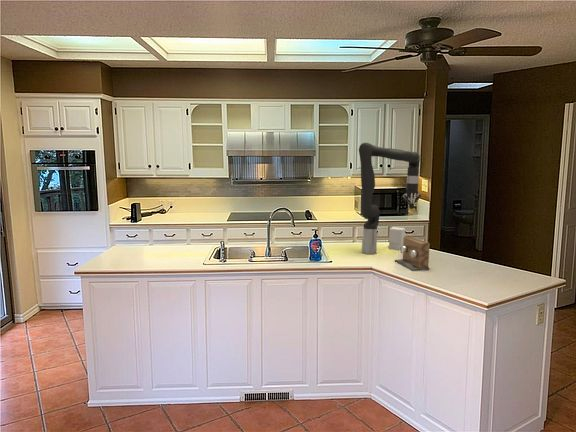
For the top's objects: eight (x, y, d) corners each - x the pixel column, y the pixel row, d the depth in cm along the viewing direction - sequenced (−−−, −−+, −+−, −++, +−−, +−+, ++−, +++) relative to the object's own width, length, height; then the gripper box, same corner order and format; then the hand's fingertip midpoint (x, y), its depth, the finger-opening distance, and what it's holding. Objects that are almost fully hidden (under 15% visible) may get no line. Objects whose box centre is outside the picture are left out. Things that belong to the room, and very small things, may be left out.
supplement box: (404, 248, 315) (405, 227, 312) (401, 250, 307) (401, 229, 305) (392, 246, 319) (393, 226, 317) (388, 248, 312) (389, 228, 310)
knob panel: (412, 270, 256) (413, 244, 253) (394, 261, 277) (395, 237, 274) (429, 269, 258) (430, 243, 256) (410, 260, 279) (411, 236, 277)
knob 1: (403, 253, 269) (403, 246, 269) (399, 252, 274) (400, 245, 273) (414, 253, 271) (415, 246, 271) (411, 251, 275) (411, 244, 275)
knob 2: (413, 258, 258) (413, 251, 257) (409, 256, 262) (409, 249, 261) (425, 257, 260) (425, 250, 259) (421, 255, 264) (421, 248, 263)
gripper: (418, 182, 290) (417, 207, 292) (400, 182, 287) (399, 208, 289) (424, 182, 283) (423, 209, 285) (406, 183, 279) (405, 209, 282)
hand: (411, 208), depth 287 cm, fingers closed
